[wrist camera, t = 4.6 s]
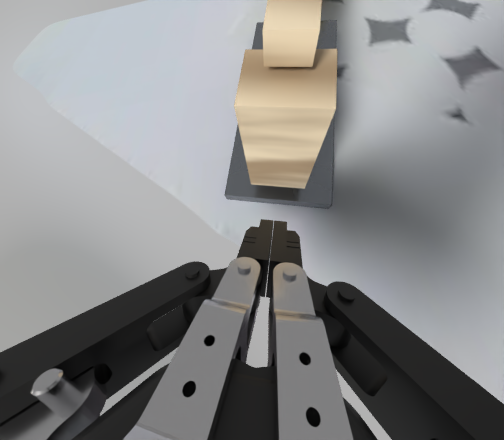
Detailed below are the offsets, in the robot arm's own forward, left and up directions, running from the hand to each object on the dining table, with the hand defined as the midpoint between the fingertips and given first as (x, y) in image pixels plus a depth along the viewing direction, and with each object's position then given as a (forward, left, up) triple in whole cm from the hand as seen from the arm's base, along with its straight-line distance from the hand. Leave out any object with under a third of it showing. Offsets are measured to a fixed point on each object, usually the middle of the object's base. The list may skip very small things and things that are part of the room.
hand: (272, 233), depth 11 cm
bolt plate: (-9, -16, -8) cm, 20 cm away
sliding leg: (-8, -14, -7) cm, 17 cm away
